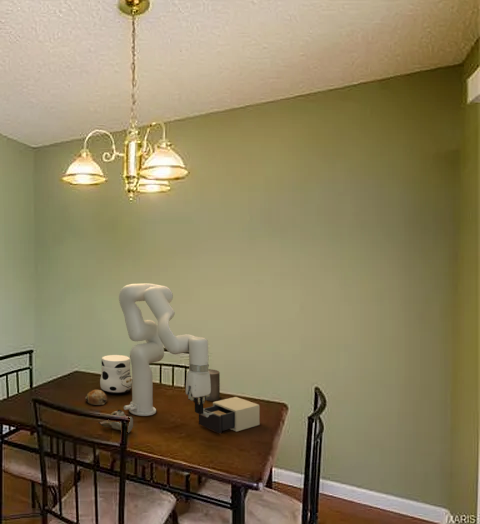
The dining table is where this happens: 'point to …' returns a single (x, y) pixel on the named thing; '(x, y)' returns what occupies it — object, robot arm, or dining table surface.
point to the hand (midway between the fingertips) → (199, 412)
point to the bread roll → (96, 397)
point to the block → (219, 412)
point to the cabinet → (241, 412)
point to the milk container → (116, 374)
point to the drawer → (217, 419)
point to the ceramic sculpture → (116, 424)
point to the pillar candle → (214, 385)
